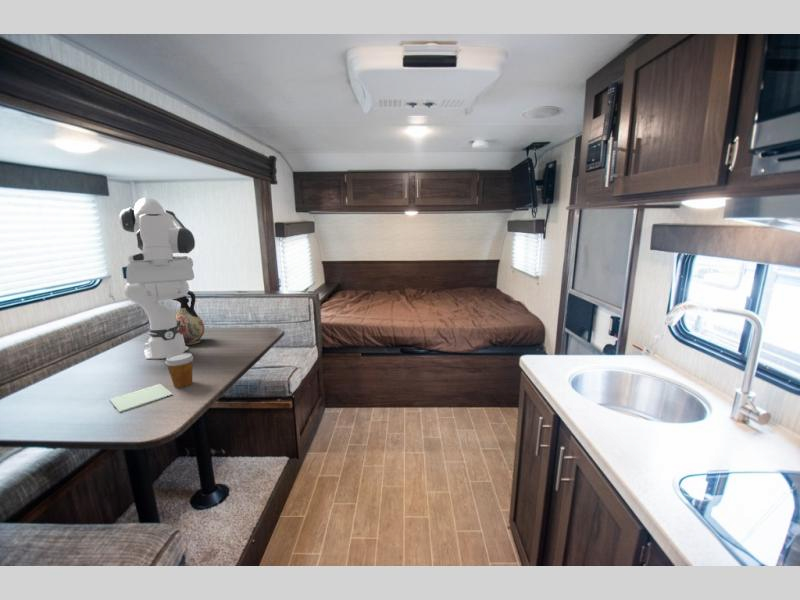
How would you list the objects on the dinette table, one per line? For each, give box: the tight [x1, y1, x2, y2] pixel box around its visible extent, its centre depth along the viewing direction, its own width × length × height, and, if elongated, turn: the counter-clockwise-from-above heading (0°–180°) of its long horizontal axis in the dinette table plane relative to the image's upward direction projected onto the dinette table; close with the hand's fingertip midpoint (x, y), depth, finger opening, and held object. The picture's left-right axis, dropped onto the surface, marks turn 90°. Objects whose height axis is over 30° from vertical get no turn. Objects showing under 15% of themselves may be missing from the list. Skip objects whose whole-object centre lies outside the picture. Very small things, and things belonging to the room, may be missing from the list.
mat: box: [108, 383, 174, 414], centre depth 125 cm, size 14×16×1 cm
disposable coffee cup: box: [164, 352, 194, 389], centre depth 135 cm, size 10×10×12 cm
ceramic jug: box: [171, 290, 205, 346], centre depth 184 cm, size 17×15×30 cm
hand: (164, 294), depth 122 cm, fingers open, 8 cm apart
